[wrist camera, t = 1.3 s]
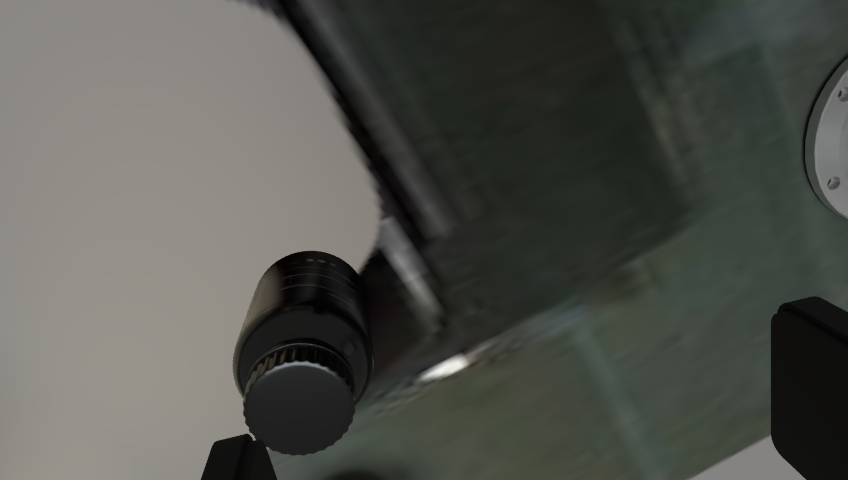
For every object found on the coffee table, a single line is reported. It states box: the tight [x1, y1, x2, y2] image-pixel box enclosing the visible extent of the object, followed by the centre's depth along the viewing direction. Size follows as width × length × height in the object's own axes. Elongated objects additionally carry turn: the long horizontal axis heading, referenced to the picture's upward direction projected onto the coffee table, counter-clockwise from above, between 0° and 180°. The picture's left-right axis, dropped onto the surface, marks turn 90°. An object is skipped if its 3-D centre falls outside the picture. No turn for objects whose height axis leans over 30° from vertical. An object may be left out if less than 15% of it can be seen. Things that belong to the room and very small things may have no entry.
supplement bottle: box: [233, 251, 374, 456], centre depth 31 cm, size 7×7×12 cm
